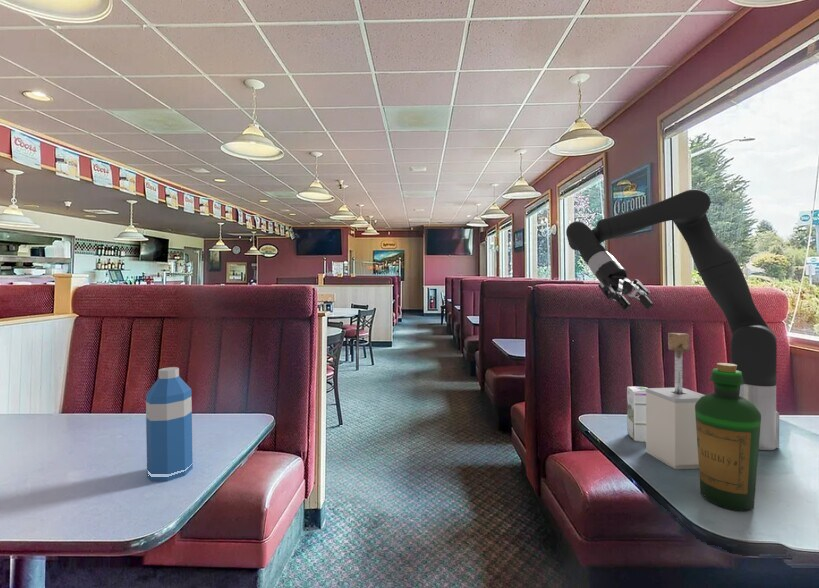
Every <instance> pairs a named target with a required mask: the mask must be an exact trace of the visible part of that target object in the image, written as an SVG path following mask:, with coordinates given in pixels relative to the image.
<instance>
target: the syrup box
mask: <svg viewBox="0 0 819 588" xmlns="http://www.w3.org/2000/svg"><path fill="white" fill-rule="evenodd" d="M646 388H648V387H646V386H640V385H639V386H636V385H634V386H633V385H631V386H626V398H627V399H626V407H627V409H626V410H627V411H626V412H627V413H626V414H627V415H626V419H627V425H626V426H627V435H628V436H629V437H630V438H631V439H632V440H633V441H634V442H640V443H646Z"/></svg>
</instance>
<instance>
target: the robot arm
mask: <svg viewBox="0 0 819 588" xmlns="http://www.w3.org/2000/svg"><path fill="white" fill-rule="evenodd" d="M711 201H712V199H711V198H710V196H709V194H708V193H707V192H705V191H703V190H701V189H696V188H695V189H694V188H693V189H687V190H684V191H682V192H680V193H678V194H675V195H673V196H669V198H666V199H663V200H661V201H659V202H655V203H653V204H650V205H647V206H643V207H641V208H638V209H634V210H631V211H630V210H629V211H626V212H624V213H620V214H616V215H613V216H612V215H611V216H609V217H604V218H601V219H599V220H597V222H596V225H595V228H592V229H591V227H590V226H589V225H588V224H586V223H585V222H583V221H574V222H573V221H572V222H571V223H570V224H569V225H568V226H567V227H566V232H565V233H566V237H567V243H568V245H569V246H568V247H570V249H572V250H573V251H575V252H576V251H578V252H579V255H580V257H581V258H582V260H583V261H584V263H585V264H586V265H587V266H588V268H589V270H590V271H591V273H592V274H593V275H594V276H595V278H596V279H597V280H598V281H599V284H598V285H597V287H598V288H599V289H600V291H601V292H602V293H603V295H604V296H605V297H606V299H607V300H611V299H612V300H613V301H614V302H617V303H618V305H619V306H620V307H621V308H622V309H623V311H628V310H629V308H630V307H631V302H629V301H628V299H627V298H626V297H625V296H624V295H626V296H628V297H630V298H636V299H637V300H638V301H639V302H640V303H641V304H642V305H643V307H644V308H645V309H646V310H651V309H652V307H653V306H654V303H653V301H651V299H650V298H649V297H648V296H649V294H650V293H651V291H649V289H648V288H646V286H645V285H644V284H643V283H642V282H641V281H640V280H639V279H636V278H635V279H634V280H633V281H632V280H631V279H629V278H628V277H627V275H628V273H627V270H626V269H625V268H624V267H623V265H622V264H621V263H620V262H619V261H618V260H617V259H616V258H615V257H614V256H613V255H612V254H611V253H610V252H609V251H608V250H607V249H606V248H605V247H604V246H603V245H602V244H601V243H603V242H605V241H607V240H613V239H616V238H620V237H623V236H627V235H631V234H633V233H636V232H638V231H641V230H643V229H646V228H648V227H651V226H654V225H658V224H660V223H665V222H670V221H672V222H673V223H674V225H675V226H676V228H677V229H678V230H679V232H680V234H681V236H682V238H683V239H684V241H685V243H686V244H687V247H688V249H689V252H690V255H691V257H692V260H693V262H694V264H695V267H696V269H697V271H698V273H699V276H700V279H701V280H702V282H703V284H704V286H705V288H706V289H707V291H708V292H709V294H710V296H711V297H712V298H713V300H714V301H715V302H716V304H717V305H718V306H719V308H720V310H721V311H722V312H723V315H724V317H725V318H726V321H727V323H728V326H729V329H730V333H731V338H730V341H731V342H730V364H735V365H737V368H736V370H737V371H740V372H741V373H742V377H743V381H744V385H741V386H740V394H739V396H741V397H743V398H745V399H747V400H748V401H750V402H751V403H753V404H754V405H755V406H756V408H757V409H758V410H759V412H760V413H761V425H760V437H759V450H758V451H775V450H776V449H777V448H780V413H779V412H778V411H777V379H778V378H777V373H778V371H777V362H778V361H777V355H778V354H777V350H778V345H777V342H778V341H777V337H776V335H775V333H774V332H773V331H772V329H771V328H770V327H769V326H768V324H767V323H766V321H765V320H764V318H763V317H762V315H761V313H760V311H759V310H758V309H757V307H756V305H755V303H754V300H753V296H752V294H751V291H750V288H749V285H748V282H747V279H746V278H745V275H744V273H743V271H742V269H741V266H740V264H739V262H738V261H737V259H736V257H735V256H734V254H733V253H732V252H731V250H730V249H729V248H728V247H727V245H726V244H725V243H724V242H723V241H721V239H720V238H718V237H717V235H716V234H715V232H714V230H713V229H712V226H711V224H710V221H709V219H708V216H707V212H708V211H709V210H710V206H711ZM632 291H633V292H632Z"/></svg>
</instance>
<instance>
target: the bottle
mask: <svg viewBox="0 0 819 588" xmlns="http://www.w3.org/2000/svg"><path fill="white" fill-rule="evenodd" d="M716 367H717V368H712V372H711V376H710V380H709V381H711V382H713V388H714V392H710V393H707V394H704V395H705V396H702V397H701V398H700V399H699V400H698V401H697V402H696V404H695V416H696V431H697V446H698V462H699V468H698V472H699V473H698V475H699V476H698V477H699V489H700V495H702V497H703V498H705V499H706V500H707V501H709V502H711V503H713V504H715V505H717V506H719V507H722V508H726V509H728V510H735V511H749V510H751V509H754V507H755V495H756V487H757V486H756V485H757V472H758V460H759V451H760V450H759V437H760V425H761V413H760V412H759V410H758V409H757V408H756V406H755V405H754V404H753V403H751V402H750V401H748V400H747V399H745V398H743V397H741V396H739V394H740V386H741V385H744V381H743V377H742V373H741V372H740V371H737V370H736V368H737V365H735V364H731V362H729V363H728V362H717V363H716Z"/></svg>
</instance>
